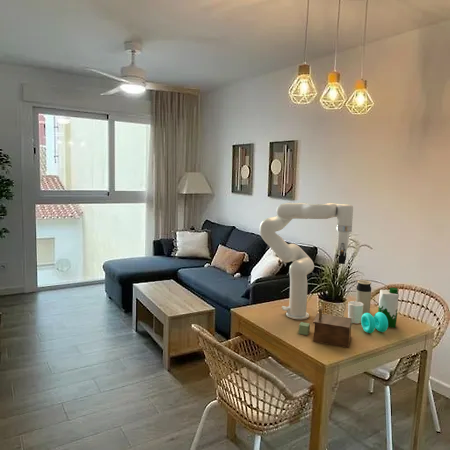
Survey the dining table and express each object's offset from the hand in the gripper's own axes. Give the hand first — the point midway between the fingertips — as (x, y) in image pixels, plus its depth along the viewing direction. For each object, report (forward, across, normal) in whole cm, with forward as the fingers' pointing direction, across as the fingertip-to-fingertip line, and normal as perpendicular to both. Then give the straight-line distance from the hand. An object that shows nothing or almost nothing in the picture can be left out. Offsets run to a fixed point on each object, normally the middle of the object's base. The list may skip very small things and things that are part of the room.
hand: (342, 261), depth 199 cm
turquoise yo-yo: (+34, +2, +17) cm, 38 cm away
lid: (+25, +19, -2) cm, 32 cm away
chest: (+34, +19, -2) cm, 39 cm away
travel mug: (+34, -26, +12) cm, 45 cm away
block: (+34, +17, -15) cm, 41 cm away
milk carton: (+34, -10, +24) cm, 43 cm away
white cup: (+34, -9, +8) cm, 36 cm away
